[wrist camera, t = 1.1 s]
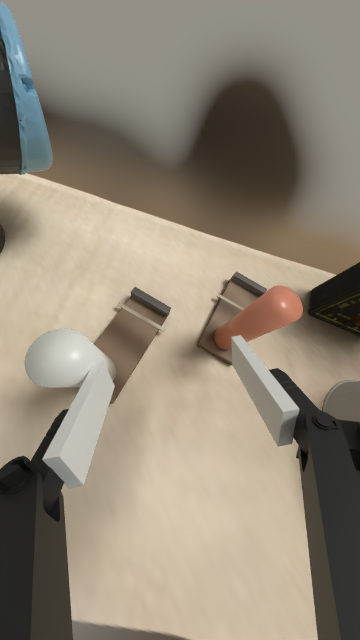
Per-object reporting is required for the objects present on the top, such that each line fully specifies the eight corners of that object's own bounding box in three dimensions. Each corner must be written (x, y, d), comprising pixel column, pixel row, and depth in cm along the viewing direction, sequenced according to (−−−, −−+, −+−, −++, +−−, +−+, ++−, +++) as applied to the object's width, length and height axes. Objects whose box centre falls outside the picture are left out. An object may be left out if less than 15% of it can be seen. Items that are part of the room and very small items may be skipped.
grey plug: (105, 392, 24) (63, 399, 11) (80, 377, 24) (9, 367, 11) (122, 366, 26) (102, 346, 13) (99, 352, 26) (55, 318, 13)
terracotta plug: (231, 354, 30) (298, 329, 17) (210, 342, 30) (262, 308, 17) (238, 334, 31) (306, 298, 18) (219, 323, 31) (272, 279, 18)
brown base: (236, 368, 31) (245, 366, 28) (192, 342, 31) (196, 338, 28) (261, 298, 38) (271, 291, 35) (225, 277, 38) (232, 268, 35)
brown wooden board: (119, 406, 26) (116, 409, 23) (65, 375, 26) (56, 373, 23) (173, 317, 32) (176, 310, 29) (130, 292, 32) (129, 283, 29)
